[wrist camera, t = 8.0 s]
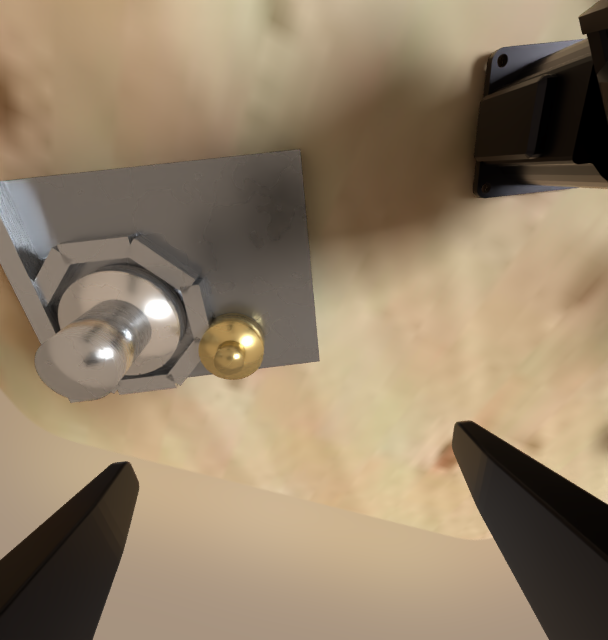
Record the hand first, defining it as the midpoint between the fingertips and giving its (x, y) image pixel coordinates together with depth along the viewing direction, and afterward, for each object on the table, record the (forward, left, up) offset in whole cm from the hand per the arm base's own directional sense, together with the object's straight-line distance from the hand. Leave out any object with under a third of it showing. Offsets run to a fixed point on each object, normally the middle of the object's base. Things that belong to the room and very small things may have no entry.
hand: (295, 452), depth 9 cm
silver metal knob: (+9, 0, -11) cm, 14 cm away
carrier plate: (+6, -2, -12) cm, 13 cm away
